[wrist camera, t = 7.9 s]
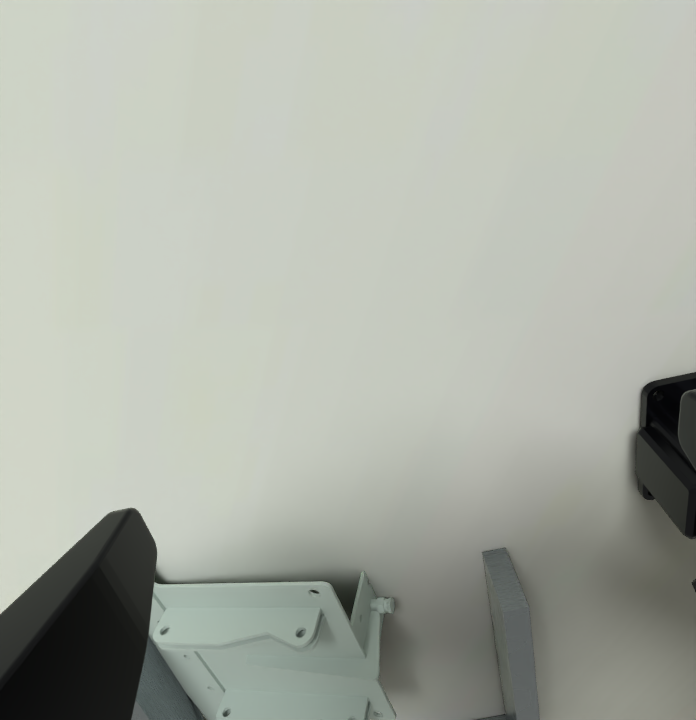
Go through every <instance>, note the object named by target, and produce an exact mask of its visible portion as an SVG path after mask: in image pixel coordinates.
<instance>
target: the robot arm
mask: <svg viewBox="0 0 696 720" xmlns="http://www.w3.org/2000/svg"><path fill="white" fill-rule="evenodd" d="M657 391H659V392H658V393H657V394H656V395H654V396H653V394H654V393H655V392H657ZM636 475H637V476H638V478H639V480H638V490H639V492H640V493H641V495H642V496H643V497H644V498H645V499H647V500H654V499H656V500H657V502H658V503H659V504H660V506H661V507H662V508H663V509H664V511H665V512H666V513H667V514H668V516H669V517H670V518H671V520H672V521H673V522H674V523H675V525H676V526H677V527H678V528H679V530H680V531H681V532H682V534H683V535H685V536H686V537H688V538H689V539H695V538H696V372H694V373H689V374H685V375H680V376H675V377H671V378H666V379H661V380H656V381H653V382H650V383H648V384H647V385H646V386H645V387H644V389H643V391H642V406H641V428H640V429H639V431H638V433H637V449H636ZM156 562H157V548H156V544H155V541H154V539H153V537H152V535H151V533H150V531H149V529H148V528H147V526H146V524H145V522H144V520H143V518H142V516H141V514H140V513H139V511H138V510H136V509H135V508H127V509H122V510H117V511H113V512H110V513H109V514H107V515H106V516H105V517H104V518H103V519H102V520H101V521H100V522H99V523H98V524H97V525H95V526H94V527H93V528H92V529H91V530H90V531H89V532H88V533H87V534H86V535H85V536H84V537H83V538H82V539H80V540H79V541H78V542H77V543H76V544H75V545H74V546H73V547H72V548H71V549H70V550H69V551H68V552H67V553H65V554H64V555H63V556H62V557H61V558H60V559H59V560H58V561H57V562H56V563H55V564H54V565H53V566H52V567H51V568H49V569H48V570H47V571H46V572H45V573H44V574H43V575H42V576H41V577H40V578H39V579H38V580H37V581H36V582H34V583H33V584H32V585H31V586H30V587H29V588H28V589H27V590H26V591H25V592H24V593H23V594H22V595H21V596H19V597H18V598H17V599H16V600H15V601H14V602H13V603H12V604H11V605H10V606H9V607H8V608H7V609H6V610H4V611H3V612H2V613H1V614H0V720H131V719H132V714H133V710H134V705H135V701H136V696H137V691H138V687H139V682H140V677H141V673H142V668H143V663H144V659H145V653H146V648H147V643H148V635H149V628H150V618H151V609H152V599H153V590H154V580H155V571H156ZM692 585H693V587H694V589H695V592H696V579H695V580H694V581H693V582H692Z"/></svg>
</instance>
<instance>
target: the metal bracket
mask: <svg viewBox="0 0 696 720" xmlns="http://www.w3.org/2000/svg"><path fill="white" fill-rule="evenodd" d="M310 590H316V591H318V592H319V594H315V593H313V592H311V591H310ZM394 608H395V604H394V598H391V597H389V599H387V598H378V599H377V597H376V595H375V593H374V591H373V588H372V586H371V584H370V583H368V577H367V575H366V573H365V571H364V572H361V576H360V580H359V585H358V589H357V593H356V598H355V602H354V606H353V611H352V615H351V620H350V621H349V619H348V617H347V615H346V613H345V611H344V609H343V607H342V605H341V603H340V601H339V599H338V597H337V595H336V593H335V591H334V589H333V587H332V586H331V584H329V583H327V582H323V581H317V582H265V583H213V584H157V583H155V582H154V590H153V599H152V609H151V618H150V628H149V636H150V638H151V640H152V641H153V643H154V644H155V646H156V647H157V649H158V650H159V652H160V653H161V655H162V656H163V658H164V660H165V661H166V663H167V664H168V666H169V667H170V669H171V670H172V672H173V673H174V675H175V676H176V678H177V680H178V681H179V683H180V684H181V686H182V687H183V689H184V690H185V692H186V693H187V695H188V696H189V697H190V698H191V700H192V701H193V702H194V703H195V705H196V706H197V707H198V708H199V710H200V711H201V712H202V713H203V715H204V716H205V717H206V718H207V720H396V713H395V711H394V709H393V707H392V705H391V703H390V701H389V699H388V697H387V695H386V693H385V691H384V689H383V687H382V685H381V683H380V681H379V679H378V678H379V675H380V636H381V631H382V625H383V619H384V614H387V612H389V613H391V614H394ZM376 712H380V713H382V714H379V713H376Z"/></svg>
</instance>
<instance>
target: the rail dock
mask: <svg viewBox="0 0 696 720" xmlns="http://www.w3.org/2000/svg"><path fill="white" fill-rule="evenodd" d="M482 554H483V561H484V567H485V574H486V581H487V588H488V595H489V602H490V609H491V616H492V623H493V630H494V637H495V643H496V650H497V657H498V664H499V671H500V678H501V685H502V692H503V699H504V706H505V713H506V715H501V716H495V717H490V718H484V719H479V720H540V717H539V706H538V696H537V685H536V675H535V664H534V653H533V643H532V632H531V622H530V611H529V605H528V603H527V600H526V598H525V595H524V593H523V590H522V588H521V585H520V583H519V580H518V578H517V575H516V573H515V570H514V568H513V565H512V563H511V560H510V557H509V555H508V552H507V550H506V548H502V549H497V550H492V551H487V552H482ZM131 720H205V719H204V717H203V716H202V714H201V712H200V711H199V709H198V707H197V706H196V705H195V703H194V702H193V701H192V700H191V698H190V697H189V696H188V695H187V693H186V692H185V690H184V689H183V687H182V686H181V684H180V683H179V681H178V680H177V678H176V676H175V675H174V673H173V672H172V670H171V669H170V667H169V666H168V664H167V663H166V661H165V660H164V658H163V656H162V655H161V653H160V652H159V650H158V649H157V647H156V646H155V644H154V643H153V641H152V640H151V638H150V636H149V635H148V643H147V648H146V653H145V659H144V663H143V668H142V673H141V677H140V682H139V687H138V691H137V696H136V701H135V705H134V710H133V714H132V719H131Z"/></svg>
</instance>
